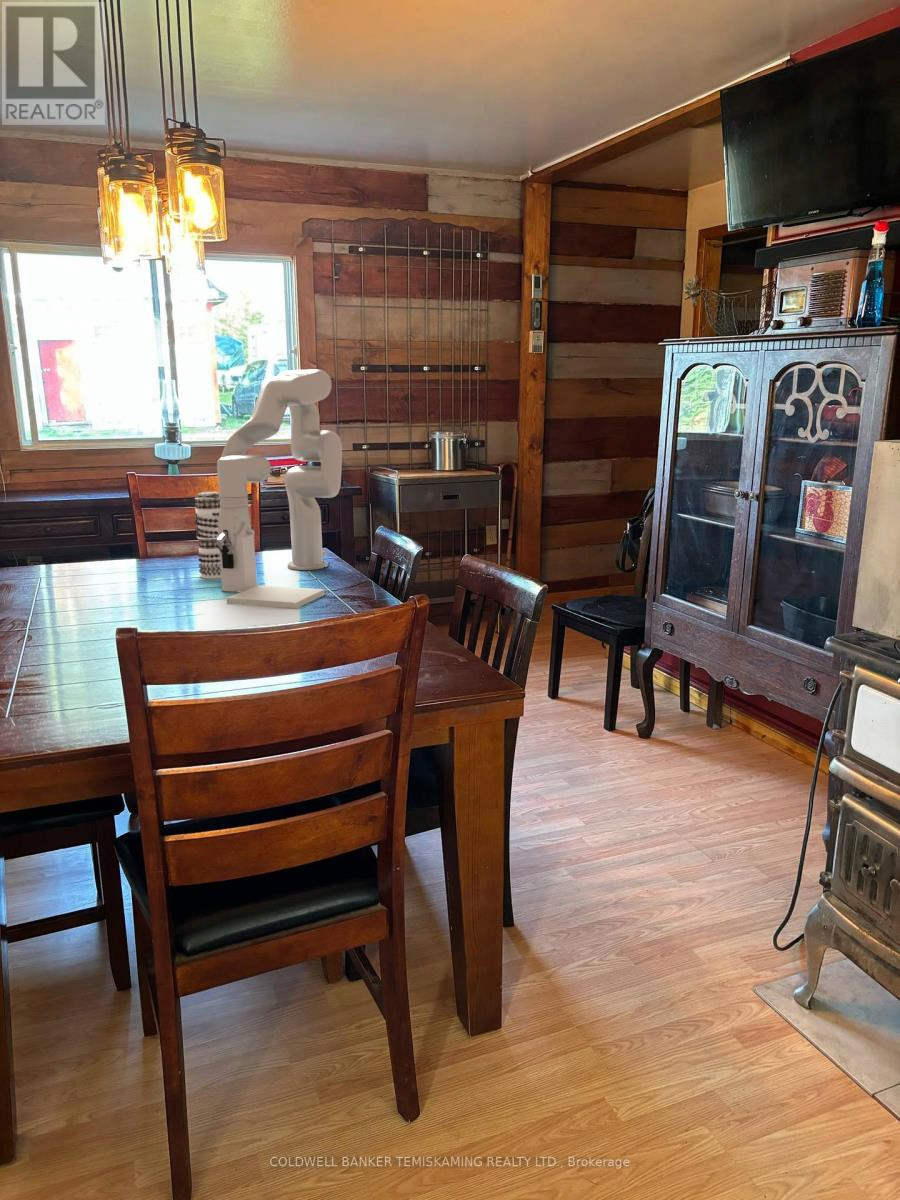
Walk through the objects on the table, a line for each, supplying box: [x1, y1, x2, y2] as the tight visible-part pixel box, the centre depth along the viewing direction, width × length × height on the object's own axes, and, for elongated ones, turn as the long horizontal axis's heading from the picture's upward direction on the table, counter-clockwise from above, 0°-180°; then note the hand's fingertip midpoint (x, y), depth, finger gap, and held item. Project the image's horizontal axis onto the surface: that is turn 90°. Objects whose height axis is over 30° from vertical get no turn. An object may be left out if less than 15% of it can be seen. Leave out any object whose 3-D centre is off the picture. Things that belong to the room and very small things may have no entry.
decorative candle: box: [193, 491, 221, 579], centre depth 244 cm, size 9×9×25 cm
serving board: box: [226, 584, 325, 609], centre depth 216 cm, size 16×20×2 cm
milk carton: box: [219, 522, 258, 593], centre depth 226 cm, size 7×7×19 cm
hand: (238, 565), depth 226 cm, fingers open, 9 cm apart
